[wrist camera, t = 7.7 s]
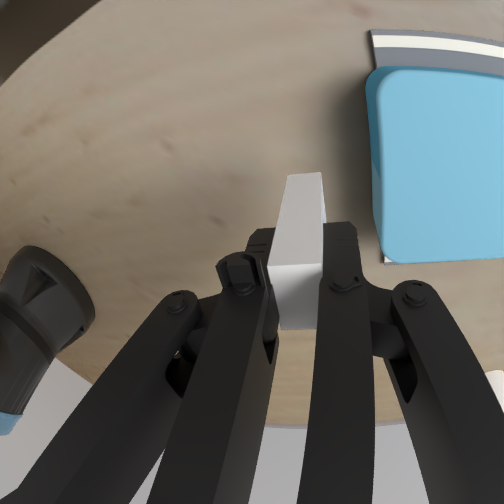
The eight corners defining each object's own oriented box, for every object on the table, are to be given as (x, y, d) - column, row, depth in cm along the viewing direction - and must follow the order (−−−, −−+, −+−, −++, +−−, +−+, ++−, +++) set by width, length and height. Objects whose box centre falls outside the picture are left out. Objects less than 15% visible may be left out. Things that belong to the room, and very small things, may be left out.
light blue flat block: (372, 228, 23) (503, 224, 19) (379, 266, 19) (526, 258, 16) (361, 65, 16) (517, 78, 13) (373, 69, 12) (553, 91, 9)
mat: (383, 261, 25) (384, 265, 24) (369, 30, 15) (371, 29, 14) (552, 250, 19) (554, 254, 19) (577, 65, 9) (581, 66, 9)
